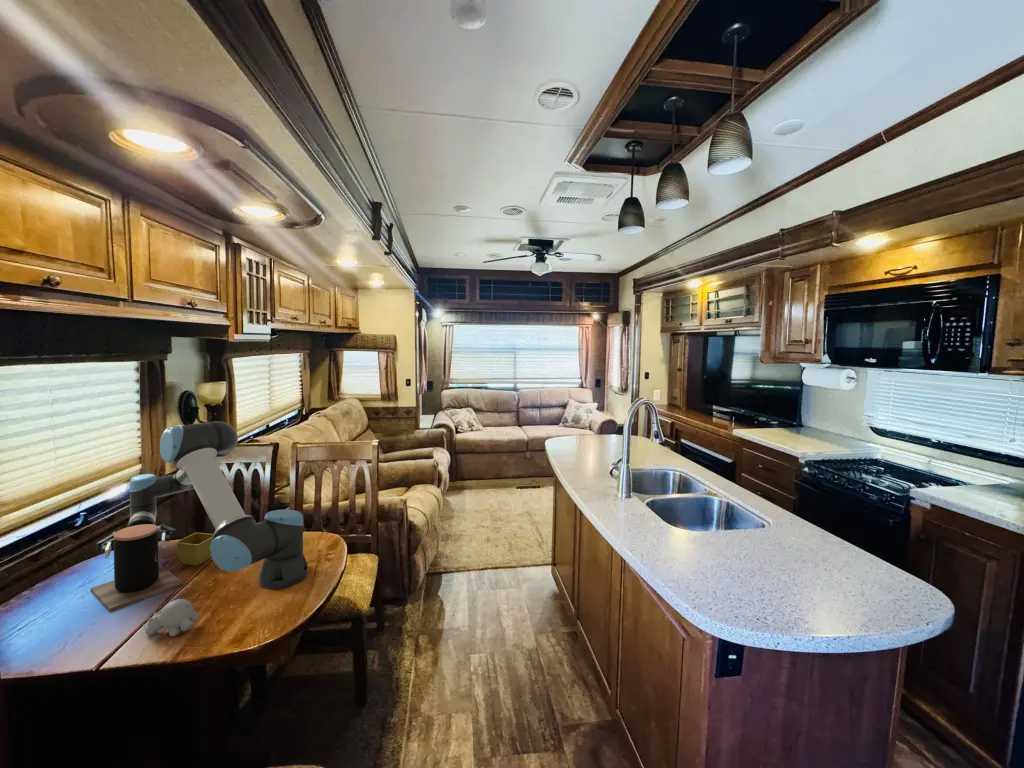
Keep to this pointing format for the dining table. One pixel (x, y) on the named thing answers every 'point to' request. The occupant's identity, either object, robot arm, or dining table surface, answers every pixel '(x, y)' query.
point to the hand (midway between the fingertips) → (135, 549)
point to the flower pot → (195, 548)
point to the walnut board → (117, 599)
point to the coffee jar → (136, 558)
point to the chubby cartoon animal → (172, 618)
